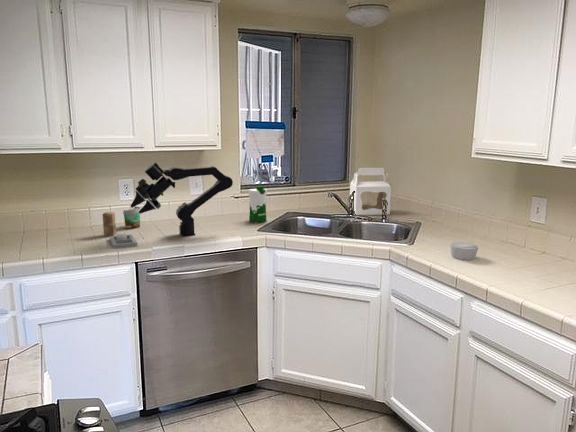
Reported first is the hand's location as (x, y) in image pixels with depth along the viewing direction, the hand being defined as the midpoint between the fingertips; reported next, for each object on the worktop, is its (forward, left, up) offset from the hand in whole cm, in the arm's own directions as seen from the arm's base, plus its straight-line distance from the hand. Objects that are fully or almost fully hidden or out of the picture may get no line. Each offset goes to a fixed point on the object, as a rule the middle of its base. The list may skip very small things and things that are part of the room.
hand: (135, 210), depth 231 cm
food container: (-3, -25, -14) cm, 29 cm away
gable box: (-141, -12, -14) cm, 142 cm away
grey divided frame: (+7, +7, -14) cm, 17 cm away
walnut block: (+11, -11, -14) cm, 21 cm away
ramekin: (-120, +88, -14) cm, 150 cm away
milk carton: (-68, -15, -14) cm, 71 cm away
